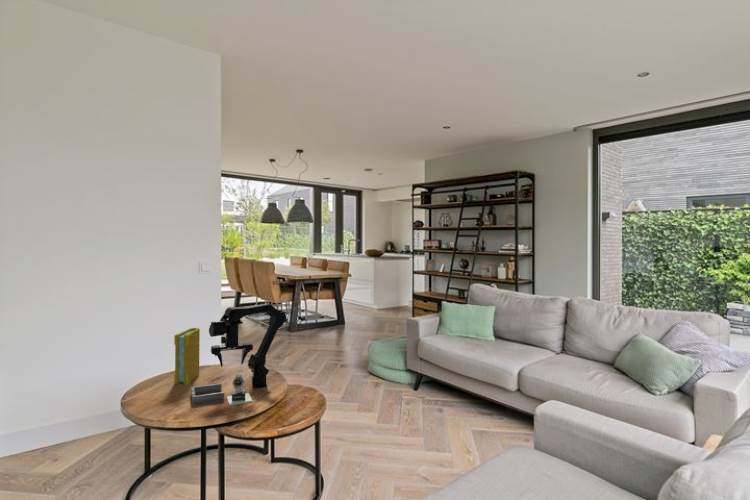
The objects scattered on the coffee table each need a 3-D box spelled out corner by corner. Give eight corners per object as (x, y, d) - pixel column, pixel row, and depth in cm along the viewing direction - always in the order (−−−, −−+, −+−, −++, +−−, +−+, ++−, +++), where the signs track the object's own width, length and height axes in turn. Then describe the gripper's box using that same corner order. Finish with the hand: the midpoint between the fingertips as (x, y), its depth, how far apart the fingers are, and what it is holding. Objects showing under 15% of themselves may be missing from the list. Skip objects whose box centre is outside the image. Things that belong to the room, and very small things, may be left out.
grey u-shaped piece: (221, 390, 200) (221, 383, 200) (224, 400, 188) (224, 392, 188) (191, 394, 194) (191, 387, 194) (192, 404, 182) (192, 397, 182)
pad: (248, 394, 195) (248, 393, 195) (252, 401, 186) (252, 400, 186) (226, 397, 191) (226, 396, 191) (229, 405, 182) (229, 404, 182)
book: (187, 384, 207) (187, 335, 206) (174, 384, 207) (174, 335, 206) (201, 373, 224) (202, 328, 223) (189, 373, 224) (190, 327, 223)
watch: (231, 402, 183) (231, 378, 183) (233, 395, 191) (233, 372, 191) (244, 401, 185) (244, 377, 184) (245, 395, 192) (246, 372, 192)
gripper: (249, 328, 208) (248, 358, 208) (210, 331, 199) (209, 363, 200) (253, 333, 198) (252, 365, 198) (212, 336, 190) (211, 370, 190)
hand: (231, 365), depth 197 cm, fingers open, 9 cm apart
